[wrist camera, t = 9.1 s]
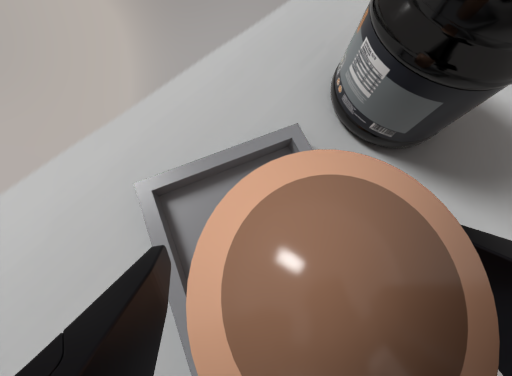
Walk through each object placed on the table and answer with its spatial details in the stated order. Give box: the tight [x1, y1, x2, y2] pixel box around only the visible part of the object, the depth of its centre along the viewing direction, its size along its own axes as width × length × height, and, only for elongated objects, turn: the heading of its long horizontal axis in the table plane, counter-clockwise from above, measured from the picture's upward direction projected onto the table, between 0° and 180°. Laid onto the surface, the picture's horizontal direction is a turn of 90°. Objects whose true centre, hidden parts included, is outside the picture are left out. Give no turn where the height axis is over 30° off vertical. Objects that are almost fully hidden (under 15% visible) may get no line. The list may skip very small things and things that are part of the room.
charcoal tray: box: [133, 123, 312, 376], centre depth 16 cm, size 18×13×2 cm
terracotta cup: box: [186, 150, 500, 376], centre depth 10 cm, size 6×6×12 cm
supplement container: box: [331, 0, 512, 148], centre depth 16 cm, size 10×10×12 cm
